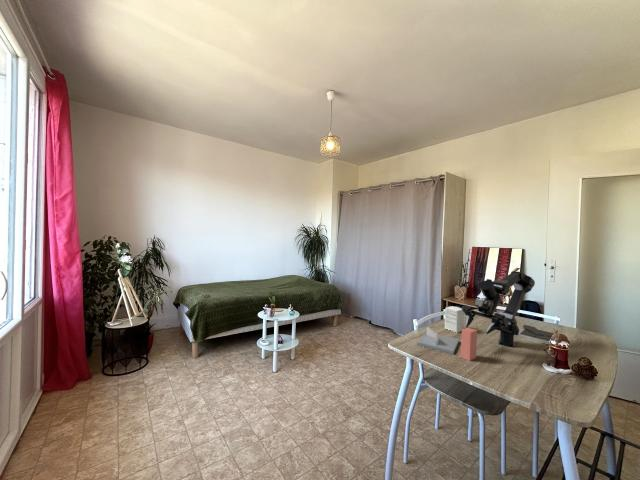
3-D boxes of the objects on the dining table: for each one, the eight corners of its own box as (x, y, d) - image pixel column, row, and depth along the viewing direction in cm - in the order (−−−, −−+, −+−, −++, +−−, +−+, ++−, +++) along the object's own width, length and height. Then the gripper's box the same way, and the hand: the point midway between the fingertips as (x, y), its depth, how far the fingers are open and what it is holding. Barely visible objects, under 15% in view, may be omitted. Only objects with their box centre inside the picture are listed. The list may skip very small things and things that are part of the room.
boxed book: (467, 354, 122) (468, 327, 122) (476, 358, 119) (477, 330, 119) (460, 356, 120) (461, 329, 120) (469, 360, 116) (470, 332, 116)
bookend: (426, 336, 139) (426, 327, 139) (428, 336, 139) (429, 327, 139) (435, 344, 129) (436, 334, 129) (438, 344, 129) (438, 334, 129)
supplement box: (451, 326, 159) (452, 305, 159) (463, 330, 153) (464, 308, 153) (444, 328, 155) (444, 307, 155) (456, 333, 149) (457, 310, 149)
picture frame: (524, 329, 160) (514, 337, 147) (524, 324, 160) (515, 332, 147) (559, 337, 148) (552, 347, 135) (559, 332, 148) (552, 341, 135)
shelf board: (426, 334, 146) (426, 331, 146) (458, 341, 137) (459, 339, 137) (417, 345, 131) (417, 342, 131) (453, 354, 122) (453, 351, 122)
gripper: (464, 288, 132) (449, 313, 127) (506, 297, 116) (491, 326, 111) (473, 302, 136) (459, 327, 131) (514, 312, 120) (500, 341, 115)
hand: (476, 330), depth 122 cm, fingers open, 9 cm apart
